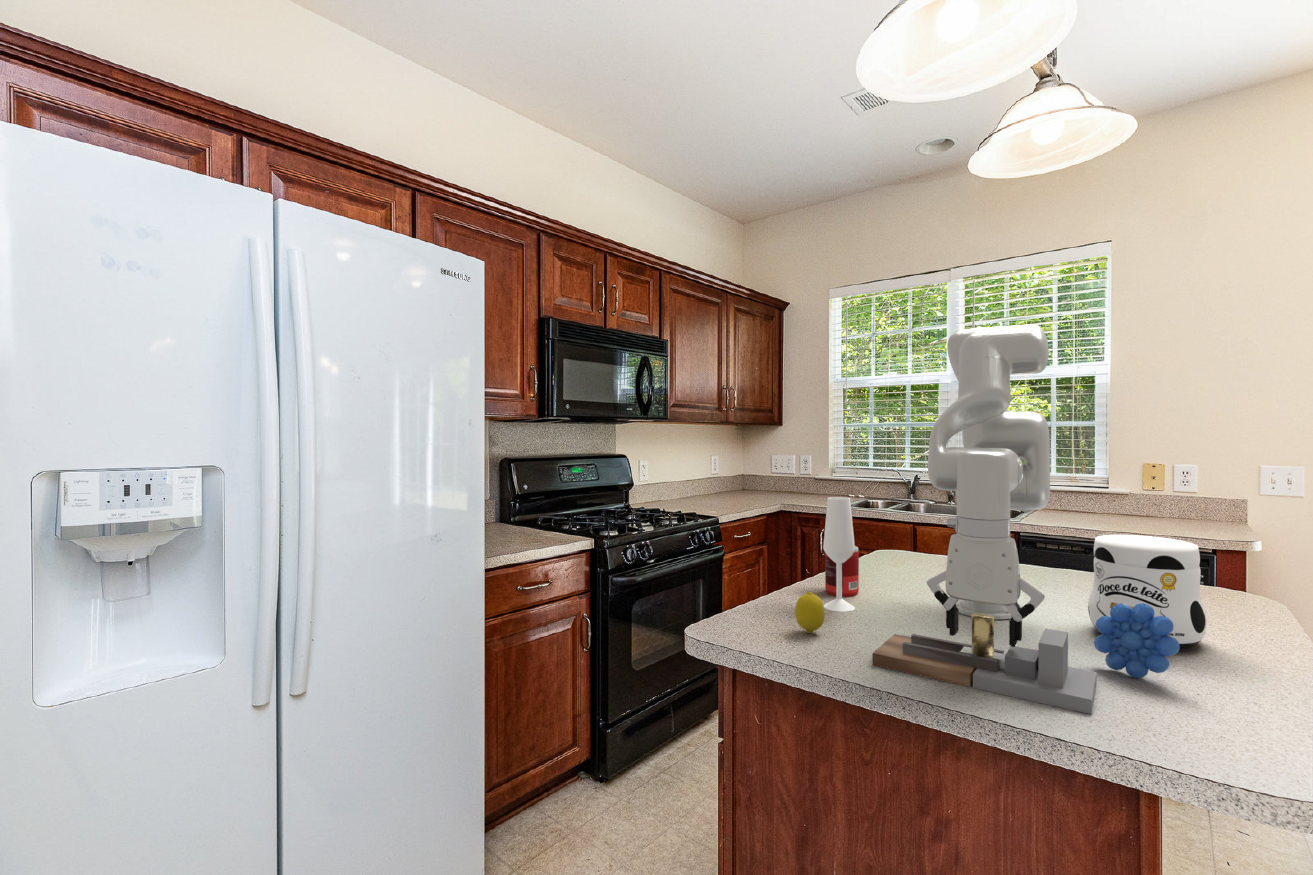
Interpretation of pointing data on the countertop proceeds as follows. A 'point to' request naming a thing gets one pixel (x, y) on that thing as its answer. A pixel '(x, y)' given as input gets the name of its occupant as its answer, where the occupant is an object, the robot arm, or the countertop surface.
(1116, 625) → the blue flower
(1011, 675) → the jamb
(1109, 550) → the doce de leite tub
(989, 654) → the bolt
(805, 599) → the lemon
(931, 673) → the wooden block with rails
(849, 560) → the canned food
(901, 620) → the countertop surface
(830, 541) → the champagne flute
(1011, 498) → the robot arm
